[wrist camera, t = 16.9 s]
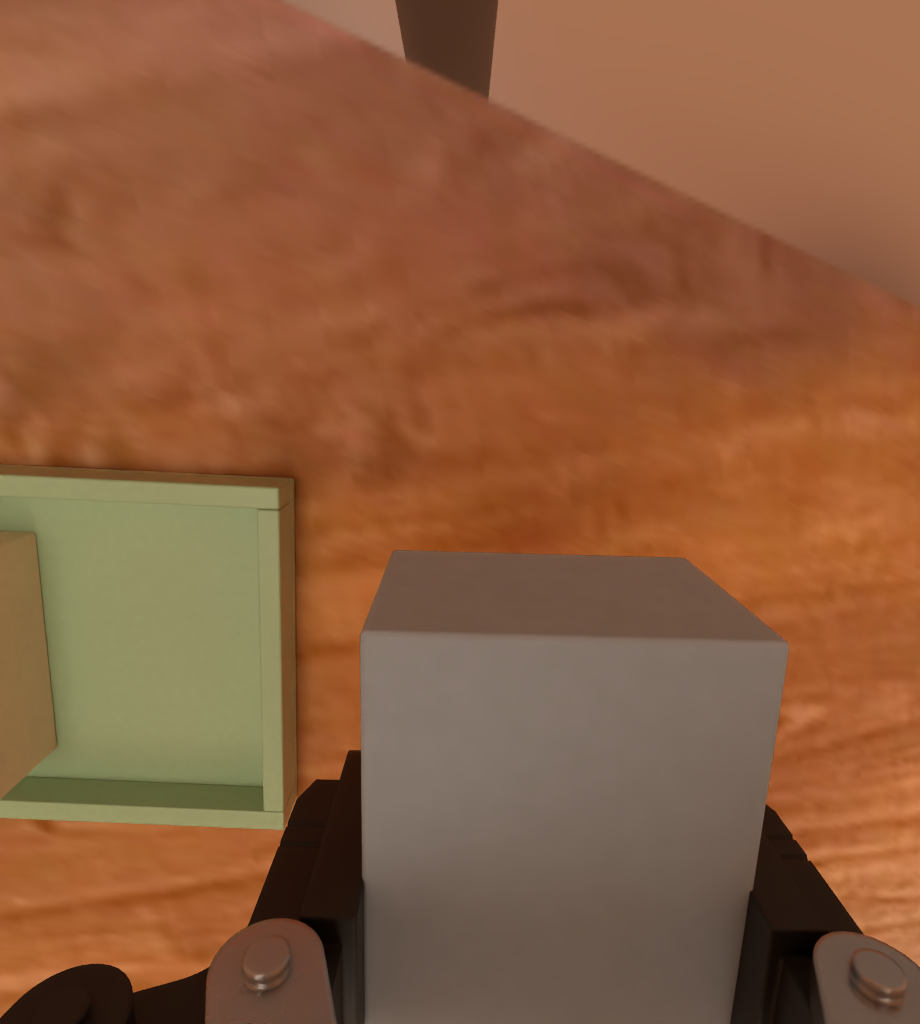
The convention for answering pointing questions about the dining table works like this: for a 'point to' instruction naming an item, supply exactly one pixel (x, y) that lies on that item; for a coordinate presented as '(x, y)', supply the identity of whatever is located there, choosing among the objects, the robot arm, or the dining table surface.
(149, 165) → the dining table surface
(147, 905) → the dining table surface
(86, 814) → the tray
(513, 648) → the blue-grey pad
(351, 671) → the dining table surface
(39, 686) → the cream pad
